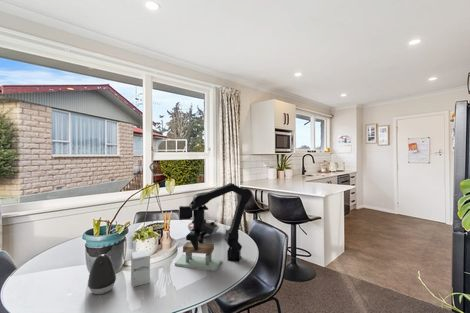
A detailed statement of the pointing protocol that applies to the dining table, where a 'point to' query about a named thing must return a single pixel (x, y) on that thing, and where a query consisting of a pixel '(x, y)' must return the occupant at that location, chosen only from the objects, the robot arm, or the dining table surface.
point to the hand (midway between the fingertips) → (198, 248)
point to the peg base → (198, 262)
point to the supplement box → (140, 268)
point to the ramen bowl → (190, 225)
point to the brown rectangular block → (199, 248)
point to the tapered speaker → (102, 275)
